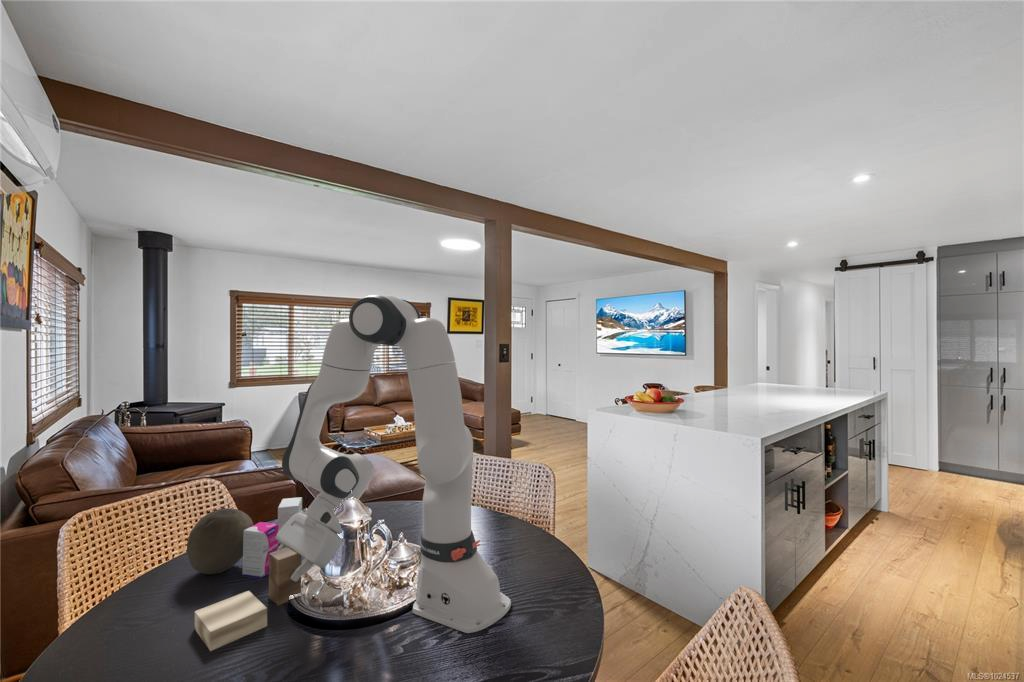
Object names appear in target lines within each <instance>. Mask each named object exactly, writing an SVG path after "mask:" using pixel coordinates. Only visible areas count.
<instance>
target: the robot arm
mask: <svg viewBox="0 0 1024 682" xmlns="http://www.w3.org/2000/svg"><path fill="white" fill-rule="evenodd" d="M327 337H328V338H327V340H326V343H325V346H324V351H323V355H322V359H321V364H320V369H319V372H318V373H317V374H318V375H317V376H316V379H315V380H313V381H312V382H311V384H310V385H309V386H308V388H307V391H306V393H305V395H304V398H303V402H302V405H301V407H300V412H299V414H298V417H297V421H296V423H295V427H294V430H293V431H294V432H292V433H293V434H292V437H291V439H290V442H289V443H288V445H287V447H286V449H285V451H284V452H283V456H282V459H281V460H282V461H281V467H282V472H283V473H284V475H285V477H287V478H289V479H291V480H294V481H297V482H300V483H302V484H304V485H306V486H308V487H310V488H312V489H314V490H316V491H318V492H320V493H318V494H317V496H316V497H315V498H314V499H313V501H312V502H311V503H310V505H309V506H308V508H307V507H305V508H303V509H302V511H299V512H298V513H296V514H294V515H293V516H292V517H291V518H290V519H289V520H288V521H287V522H286V523H285V525H284V526H283V527H282V528H281V529H280V530H279V532H278V533H277V535H276V539H277V540H278V541H280V542H281V543H280V544H279V545H278V549H277V551H278V550H281V549H283V548H286V547H289V548H291V549H292V550H294V551H295V552H297V553H298V554H300V555H301V557H302V558H303V559H302V560H301V565H300V566H299V567H298V568H297V569H296V570H294V569H293V570H292V572H291V573H290V575H289V578H290V579H292V580H293V581H295V582H296V581H298V580H299V578H300V577H301V578H302V575H304V574H305V573H306V572H308V571H309V570H311V569H312V567H313V566H314V565H315V566H317V567H318V568H320V569H323V568H325V567H326V566H328V565H329V563H330V562H331V561H332V559H333V558H334V557H335V556H336V554H337V552H338V550H340V548H341V547H342V544H343V542H342V541H341V538H340V537H339V536H338V535H337V533H338V534H340V533H342V528H341V525H340V523H339V520H338V519H337V518H336V516H335V514H334V512H333V511H335V510H336V509H337V508H339V507H340V505H339V504H340V503H341V502H342V500H344V501H345V500H346V499H348V498H351V497H352V495H353V496H354V498H356V499H358V501H359V500H360V498H361V497H362V496H363V494H364V492H365V491H366V490H367V488H368V486H369V484H370V483H371V481H372V479H373V477H374V474H375V468H374V464H372V462H371V461H370V460H369V459H368V458H367V457H365V456H364V455H362V454H360V453H357V452H356V453H353V454H347V453H343V452H339V451H337V450H335V449H332V448H329V447H328V446H324V444H322V443H321V441H320V439H321V438H320V434H321V431H322V427H323V425H324V421H325V419H326V416H327V415H326V414H327V412H328V410H329V408H330V407H331V406H333V405H336V404H342V403H347V402H348V403H349V402H351V401H354V400H355V399H357V398H359V397H360V396H361V395H362V394H363V393H365V390H366V389H367V387H368V385H369V381H370V376H371V375H370V374H371V370H372V363H373V357H374V353H375V351H376V350H377V348H378V347H379V346H381V345H383V346H388V347H389V346H398V347H399V348H400V349H401V351H402V353H403V356H404V360H405V366H406V370H407V371H406V372H407V376H408V383H409V387H410V393H411V398H412V403H413V404H412V405H413V413H414V414H413V415H414V416H413V417H414V420H413V421H414V433H415V444H416V446H415V447H416V453H417V454H416V455H417V457H416V458H417V459H416V461H417V468H418V470H419V473H420V474H421V475H422V477H424V479H425V481H424V489H423V495H422V532H421V534H420V541H419V546H420V554H421V559H420V560H421V561H420V564H419V569H418V574H417V584H416V585H417V586H416V592H415V595H416V601H414V602H413V604H412V610H411V612H412V614H414V615H416V616H418V617H419V616H420V617H422V618H425V619H427V620H429V621H433V622H435V623H438V624H441V625H443V626H446V627H448V628H452V629H454V630H457V631H460V632H463V633H465V634H471V633H472V634H473V633H477V632H480V631H482V630H484V629H487V628H488V627H491V626H492V625H494V624H495V623H497V622H498V621H499V620H500V619H502V618H503V617H504V616H505V615H506V614H507V613H508V612H509V611H510V609H511V607H512V606H511V605H512V601H511V599H510V597H508V596H507V595H505V594H504V593H503V592H501V588H500V581H499V577H498V575H497V574H496V573H495V572H494V568H493V566H492V565H491V564H488V563H487V562H486V560H485V559H484V558H483V556H482V555H481V554H480V552H478V547H479V546H480V545H481V544H480V542H481V540H479V539H478V540H475V539H476V538H475V536H474V532H473V530H472V490H473V486H472V485H473V463H474V458H473V457H474V438H473V434H472V433H471V432H472V431H470V429H469V427H468V426H466V425H465V418H464V409H463V397H462V391H461V385H460V380H459V374H458V370H457V364H456V360H455V359H456V358H455V355H454V351H453V346H452V343H451V340H450V338H449V337H450V336H449V335H448V332H447V329H446V327H445V325H444V324H443V322H442V321H440V320H439V319H436V318H431V317H422V315H421V313H420V311H419V309H418V308H417V306H415V305H414V303H412V302H410V301H408V300H406V299H401V298H399V297H396V296H392V295H380V294H371V295H367V296H364V297H361V298H360V299H359V300H357V301H355V303H354V304H353V305H352V306H351V309H350V311H349V313H348V318H343V319H340V320H338V321H336V322H335V323H334V324H333V325H332V327H331V330H330V331H329V335H328V336H327ZM351 490H352V494H351ZM345 498H346V499H345ZM344 501H343V502H344ZM341 504H342V503H341ZM338 505H339V506H338ZM337 506H338V507H337ZM336 507H337V508H336ZM334 508H335V510H333V509H334ZM339 509H340V508H339ZM339 509H338V510H339Z"/></svg>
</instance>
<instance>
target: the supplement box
mask: <svg viewBox="0 0 1024 682" xmlns="http://www.w3.org/2000/svg"><path fill="white" fill-rule="evenodd" d="M278 530H279V524H278V523H271V522H265V521H262V522H261V521H259V522H258V523H256V524H253V526H251V527H249V528H247V529H246V530H244V536H243V557H242V571H241V572H242V577H244V578H253V579H261V580H262V579H263V578H265V577H266V576H267V575H269V553H272V552H275V551H277V549H278V547H279V544H278V540H277V539H276V535H277V533H278Z"/></svg>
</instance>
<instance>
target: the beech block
mask: <svg viewBox="0 0 1024 682" xmlns="http://www.w3.org/2000/svg"><path fill="white" fill-rule="evenodd" d="M266 627H268V607H267V606H265V604H263V603H262V602H261V601H260V600H259V599H258V597H256V596H255V595H254V594H253V593H252V592H251V591H250V590H247V591H243V592H241V593H238V594H236V595H233V596H231V597H228V598H226V599H223V600H220V601H218V602H216V603H212V604H210V605H208V606H205V607H203V608H199V609H197V610H195V611H194V630H195V632H196V633H197V635H198V636H199V637H200V639H201V640H202V642H203V643H204V645H205V646H206V647H207V648H208V650H209V651H210V652H212V651H214V650H217V649H219V648H221V647H223V646H225V645H228V644H230V643H233V642H235V641H237V640H239V639H241V638H243V637H245V636H248V635H250V634H252V633H255V632H257V631H259V630H262V629H263V628H266Z"/></svg>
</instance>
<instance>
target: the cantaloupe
mask: <svg viewBox="0 0 1024 682" xmlns="http://www.w3.org/2000/svg"><path fill="white" fill-rule="evenodd" d="M253 525H254V522H253V520H252V518H251V516H249V514H247V513H246V512H245V511H242V510H239V509H236V508H229V507H228V508H219V509H216V510H213V511H210V512H209V513H207V514H205V515H204V516H202V517H201V518H200V519H199V520H198V521H197V522H196V523H195V525H194V527H193V528H192V529H191V531H190V532H189V535H188V538H187V542H186V543H187V544H186V554H187V558H188V561H189V564H190V566H191V567H192V569H193V570H195V571H197V572H198V573H200V574H204V575H217V574H220V573H222V572H225V571H227V570H229V569H230V568H232V567H233V566H235V565H236V564H237V563H239V561H241V559H243V536H244V530H246V529H247V528H249V527H251V526H253Z"/></svg>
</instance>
